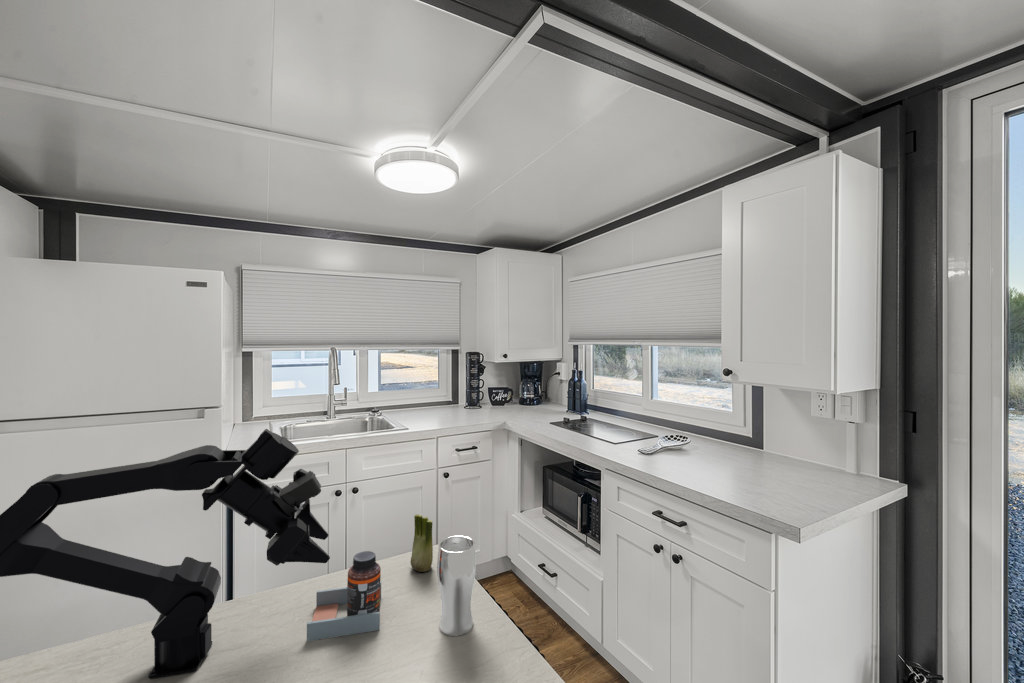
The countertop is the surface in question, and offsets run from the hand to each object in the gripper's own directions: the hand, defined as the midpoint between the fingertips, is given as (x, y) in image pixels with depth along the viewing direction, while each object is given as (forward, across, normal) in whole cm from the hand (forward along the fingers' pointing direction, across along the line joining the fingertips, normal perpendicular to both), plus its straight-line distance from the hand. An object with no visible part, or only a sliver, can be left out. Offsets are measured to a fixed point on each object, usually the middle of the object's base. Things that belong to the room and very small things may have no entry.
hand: (327, 548), depth 79 cm
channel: (+12, +1, +8) cm, 14 cm away
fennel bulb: (+24, +12, -3) cm, 28 cm away
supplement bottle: (+14, 0, +6) cm, 16 cm away
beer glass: (+26, -9, -4) cm, 27 cm away
